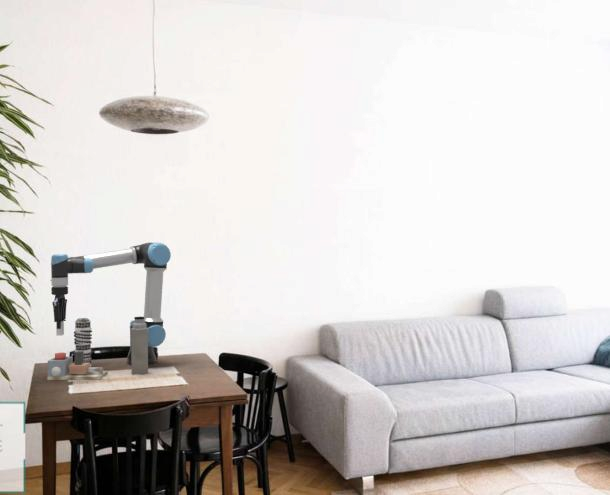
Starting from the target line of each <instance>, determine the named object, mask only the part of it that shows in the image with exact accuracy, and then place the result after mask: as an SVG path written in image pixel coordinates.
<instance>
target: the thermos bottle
mask: <svg viewBox="0 0 610 495" xmlns="http://www.w3.org/2000/svg"><path fill="white" fill-rule="evenodd" d="M144 318H145V317H144V316H134V318H133V319H134V323H133V328H131V363H132V364H131V374H132V375H134V374H142V375H147V374H148V373H149V364H148V328H147V327H146V323H145V320H144ZM146 373H147V374H146Z"/></svg>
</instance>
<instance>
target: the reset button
mask: <svg viewBox="0 0 610 495" xmlns="http://www.w3.org/2000/svg"><path fill="white" fill-rule="evenodd" d="M66 357H67V352H56V353H54V358H55V360H65V359H66Z"/></svg>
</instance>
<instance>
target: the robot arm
mask: <svg viewBox="0 0 610 495" xmlns="http://www.w3.org/2000/svg"><path fill="white" fill-rule="evenodd" d="M171 257H172V256H171V250H170V248H169V247H168V246H167V245H166V244H165V243H162V242H145V243H141V244H139V245H134V246H133V245H132V246H130V247H129V248H126V249H125V248H124V249H119V250H112V251H105V252H100V253H99V252H98V253H94V254H85V255H81V256H80V255H79V256H68V254H66V253H61V254H60V253H59V254H58V253H57V254H56V253H55V254H53V255H51V258H50V259H51V260H50V268H51V270H50V271H51V273H50V274H51V279H50V282H51V286H52V287H50V289H51V292H50V293H51V295H53V296H54V301H52V303H51V304H52V309H53V320H54V321H53V322H54V323H56V332H55V334H56V336H64V335H65V323H64V322H66V321H67V320H66V316H67V303H68V299H66V295H68V294H69V287H68V286H69V274H71V275H72V274H91V273H93V271H94V269H102V268H108V267H113V266H114V267H115V266H121V265H126V264H133V265H138V264H142V265H143V269H144V270H145V271H146V274H145V275H146V276H145V277H146V278H145V291H144V292H145V294H144V307H143V317H145V318H144V320H145V323H146V327H147V328H148V365H149V364H153V363H156V362H157V357H156V354H155V351H154V348H157V347H159V346H160V345H162V344H163V343H164V342H165V339H166V337H167V336H166V335H167V334H166V329H165V328H164V320H163V319H162V316H161V315H162V314H161V312H162V298H163V297H162V296H163V283H164V273H165V272H166V270H168V269H167V268H168V267H167V266H168V265H167V264H168V263H169V262H170V259H171ZM134 320H135V319H134ZM134 320H131V321H130V325H129V338H130V339H129V341H130V342H129V345H130V348H129V351H128V353H127V354H128V355H127V358H126V364H129V365H132V363H131V328H133V323H134Z"/></svg>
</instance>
